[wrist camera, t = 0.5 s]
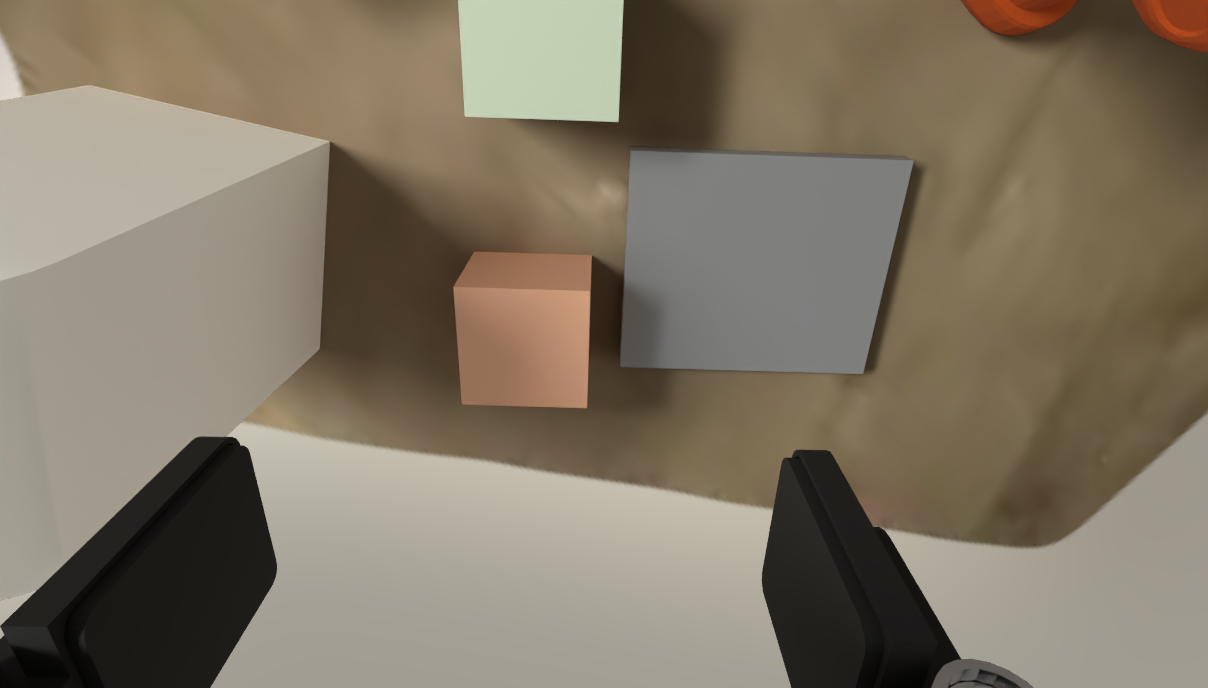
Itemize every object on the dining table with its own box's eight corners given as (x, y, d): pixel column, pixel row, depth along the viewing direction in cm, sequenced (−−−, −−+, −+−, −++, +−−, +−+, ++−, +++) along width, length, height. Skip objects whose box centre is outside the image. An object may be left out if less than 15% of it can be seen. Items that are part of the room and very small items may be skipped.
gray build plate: (630, 146, 32) (631, 150, 31) (903, 156, 33) (913, 160, 32) (619, 357, 38) (620, 367, 37) (855, 364, 38) (862, 373, 37)
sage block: (480, -48, 29) (454, -65, 24) (621, -42, 29) (625, -58, 24) (486, 103, 32) (464, 116, 27) (615, 108, 32) (618, 122, 27)
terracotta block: (474, 250, 35) (453, 286, 30) (591, 254, 35) (590, 291, 30) (480, 355, 38) (461, 404, 33) (588, 358, 38) (587, 408, 33)
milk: (89, 84, 31) (-1458, 235, 8) (330, 141, 32) (-382, 420, 9) (112, 307, 36) (-781, 804, 13) (319, 348, 37) (-152, 874, 14)
